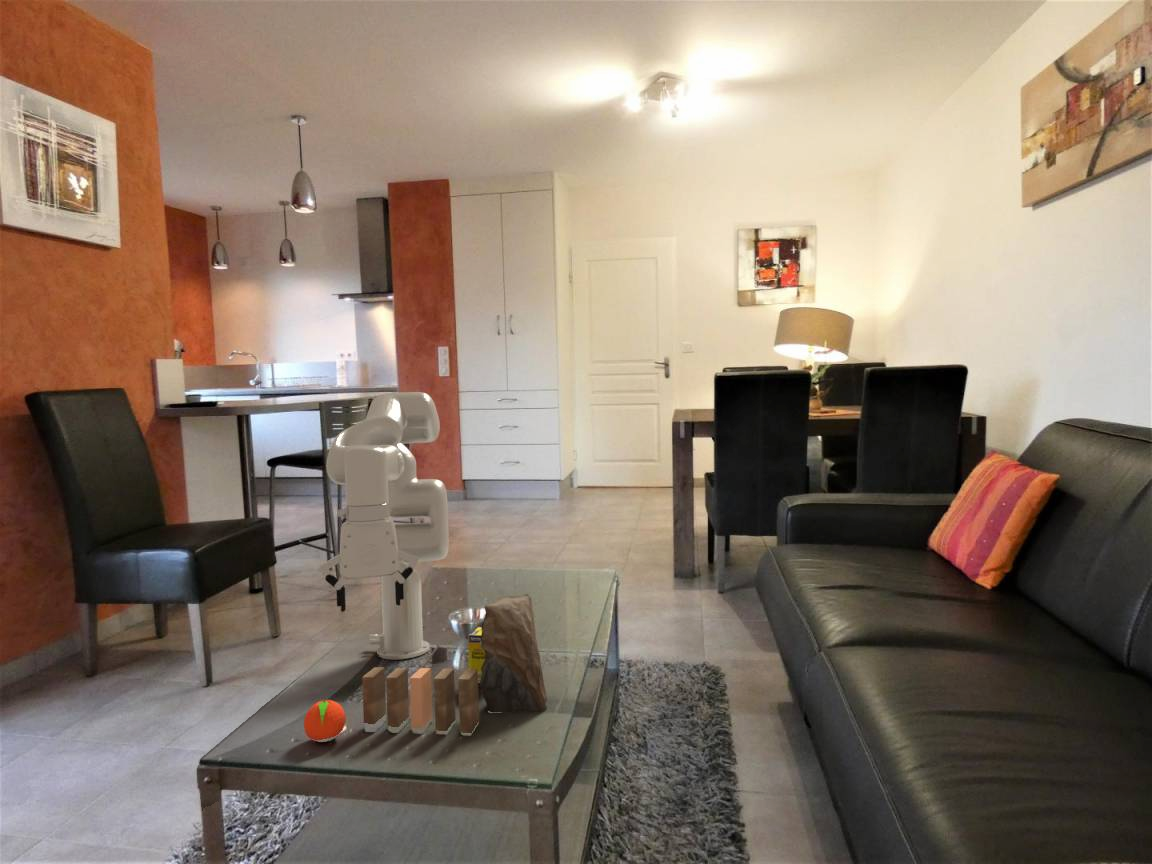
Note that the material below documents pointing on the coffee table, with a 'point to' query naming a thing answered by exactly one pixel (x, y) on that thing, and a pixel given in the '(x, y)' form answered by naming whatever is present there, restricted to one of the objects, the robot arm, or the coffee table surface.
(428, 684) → the domino
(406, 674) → the domino
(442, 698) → the domino
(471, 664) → the supplement box
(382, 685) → the domino
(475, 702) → the domino
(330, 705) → the clementine
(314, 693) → the coffee table surface
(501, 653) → the brown rough lump
